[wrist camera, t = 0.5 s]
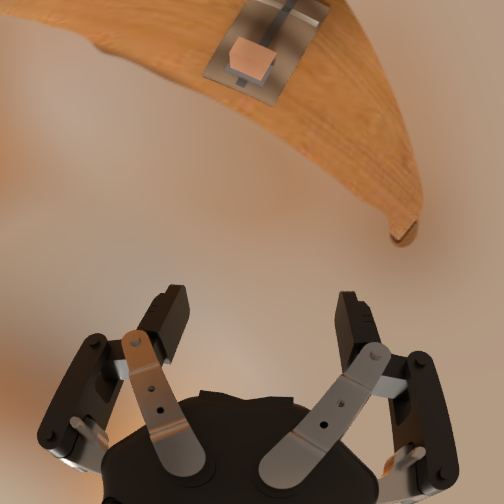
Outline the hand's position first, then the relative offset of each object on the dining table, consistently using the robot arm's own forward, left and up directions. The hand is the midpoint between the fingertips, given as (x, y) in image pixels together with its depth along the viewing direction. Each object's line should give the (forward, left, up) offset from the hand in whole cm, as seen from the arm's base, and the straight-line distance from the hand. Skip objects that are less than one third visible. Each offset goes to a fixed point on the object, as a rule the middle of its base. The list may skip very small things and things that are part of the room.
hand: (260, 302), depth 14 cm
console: (-7, +21, -26) cm, 34 cm away
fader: (-7, +15, -24) cm, 29 cm away
